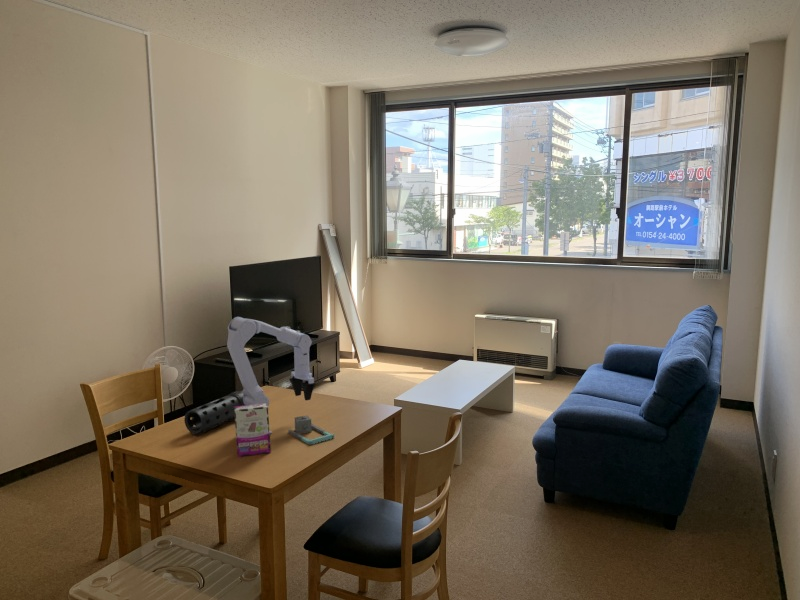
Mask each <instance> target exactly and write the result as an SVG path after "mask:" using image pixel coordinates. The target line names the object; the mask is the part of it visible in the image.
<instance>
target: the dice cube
mask: <svg viewBox="0 0 800 600" xmlns="http://www.w3.org/2000/svg"><path fill="white" fill-rule="evenodd" d="M311 424H312V418H311V417H310V416H309V415H302V416H296V417H294V430H295V432H296V433H298V434H300V435H302V433H303V434H307V433H308V432H309V433H312V431H313V429H312V425H311Z"/></svg>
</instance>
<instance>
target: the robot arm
mask: <svg viewBox="0 0 800 600" xmlns="http://www.w3.org/2000/svg"><path fill="white" fill-rule="evenodd" d="M227 331H228V332H227V333H228V334H227V343H226V344H227V345H226V347H227V350H228V352H229V354H230V357H231V360H232V362H233V365H234V367H235V371H236V372H237V375H238V378H239V380H240V383H241V385H242V388H243V389H242V390H241V391H242V393H243V402H244V404H245V405H253V404H262V403H267V406H268V407H269V406H270V399H269V396H268V395H265V393H264V389H262V387H261V386H260V385H259V383H258V382H257V381H258V380H257V378H256V375H255V373H254V370H253V368H252V365H251V363H250V360H249V357H248V354H247V353H246V350H245V346H246V344H247V342H248V341H250V339H251V338H253V336H255V334H259V333H264V334H267V335H270V336H274V337H276V340H277V341H278V342H280V343H283V344H287V345H289V346H292V347H293V354H294V355H293V359H294V360H293V361H294V362H293V363H294V371H290V377H291V378H289V383H291V384H290V385H292V388H293V391H294V392H293V393H294V396H295V397H298V396H302V391H303V397H304V400H305V401H310V400H311V399H312V395H313V391H314V389H315V386H317V385H316V384H317V382H316V381H315V378H314V377H312V376H313V373H312V372H310V369H311V368H310V347H311V346H312V343H313V340H312V339H311V337H310V336H309V335H308V334H305V333H302V332H301V330H298V329H297V330H294V329H291V326H287V325H286V326H281V327H280V328H279V327H276V326H274V325H271V324H269V323H267V322H263V321H262V320H261V321H260V320H256V319H252V318H247V317H246V318H244V317H241V316H235V317H234V318H232V319H231V320H230V322H229V324H228V325H227ZM269 433H270V435H271V434H273V432H272V431H271V430H269Z"/></svg>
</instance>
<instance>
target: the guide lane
mask: <svg viewBox="0 0 800 600" xmlns="http://www.w3.org/2000/svg"><path fill="white" fill-rule="evenodd" d="M311 425H312V428H313V429H312V430H313V431H316V432H318V433H320V432H321V433H320V434H322V436H319V437H316V438H312V439H309V438H307V437H305V436H303V435H302V434H298V433H297V432H296V431H294V430H292V429H288V430H287V431H288V432H287V433H288V434H290V435H291V436H293V437H295V438H297V439H299V440H301V441H302V442H304V443H306V444H307V445H309V446H312V445H315V443H316V444H319V443H322V442H321V441H323V442H326V441H329V440H328V439H330V440H333V439H335V433H330V432H328V431H326V430H325V429H323V428H320V427H318V426H316V425H315V424H312V423H311ZM323 434H324V435H323ZM325 435H326V436H325ZM332 438H333V439H332ZM325 440H326V441H325ZM318 442H319V443H318Z"/></svg>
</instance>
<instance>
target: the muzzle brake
mask: <svg viewBox="0 0 800 600" xmlns="http://www.w3.org/2000/svg"><path fill="white" fill-rule="evenodd" d="M242 391H243V390H236V391H233V392H231V393H229V394H228V395H225V396H222V397H220V398H218V399H215V400H213V401H210V402H208V403H205V404H203V405H200V406H198V407H195V408H193V409H190V410H188V411H187V412H186V413H185V415H184V424H185V427H186V429H187V431H189V432H190V433H191V434H193V436H196V435H197V436H199V435H201V434H203V432H204V433H206V432H208V431H210V430H212V429H214V428H215V427H218V426H220V425H221V424H222V423H225V422H226V421H227V420H228V422H231V421H233V420H235V413H234V408H235V406H244V405H245V404H244V402H243V393H242ZM232 419H233V420H232ZM230 420H231V421H230Z"/></svg>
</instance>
